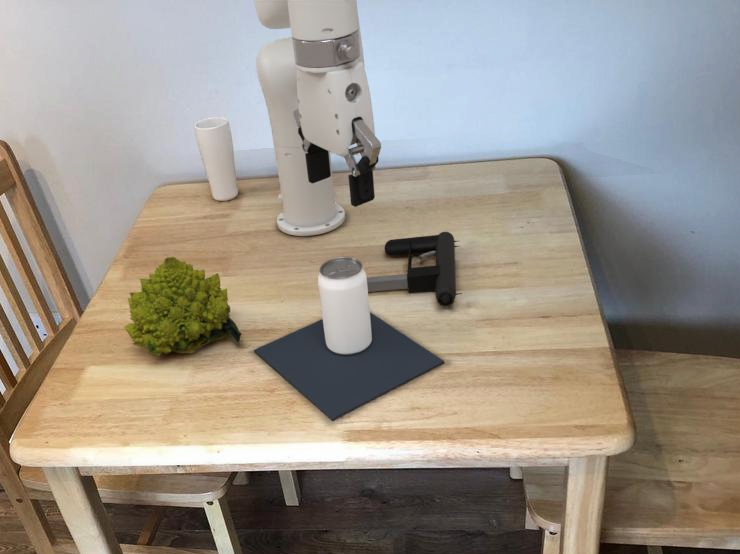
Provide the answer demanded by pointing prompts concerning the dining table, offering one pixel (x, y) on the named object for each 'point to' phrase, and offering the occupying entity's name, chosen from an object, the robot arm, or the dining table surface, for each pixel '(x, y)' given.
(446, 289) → the door handle
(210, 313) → the vegetable
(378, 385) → the mat
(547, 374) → the dining table surface
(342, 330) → the can
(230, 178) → the drinking glass
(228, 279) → the dining table surface
